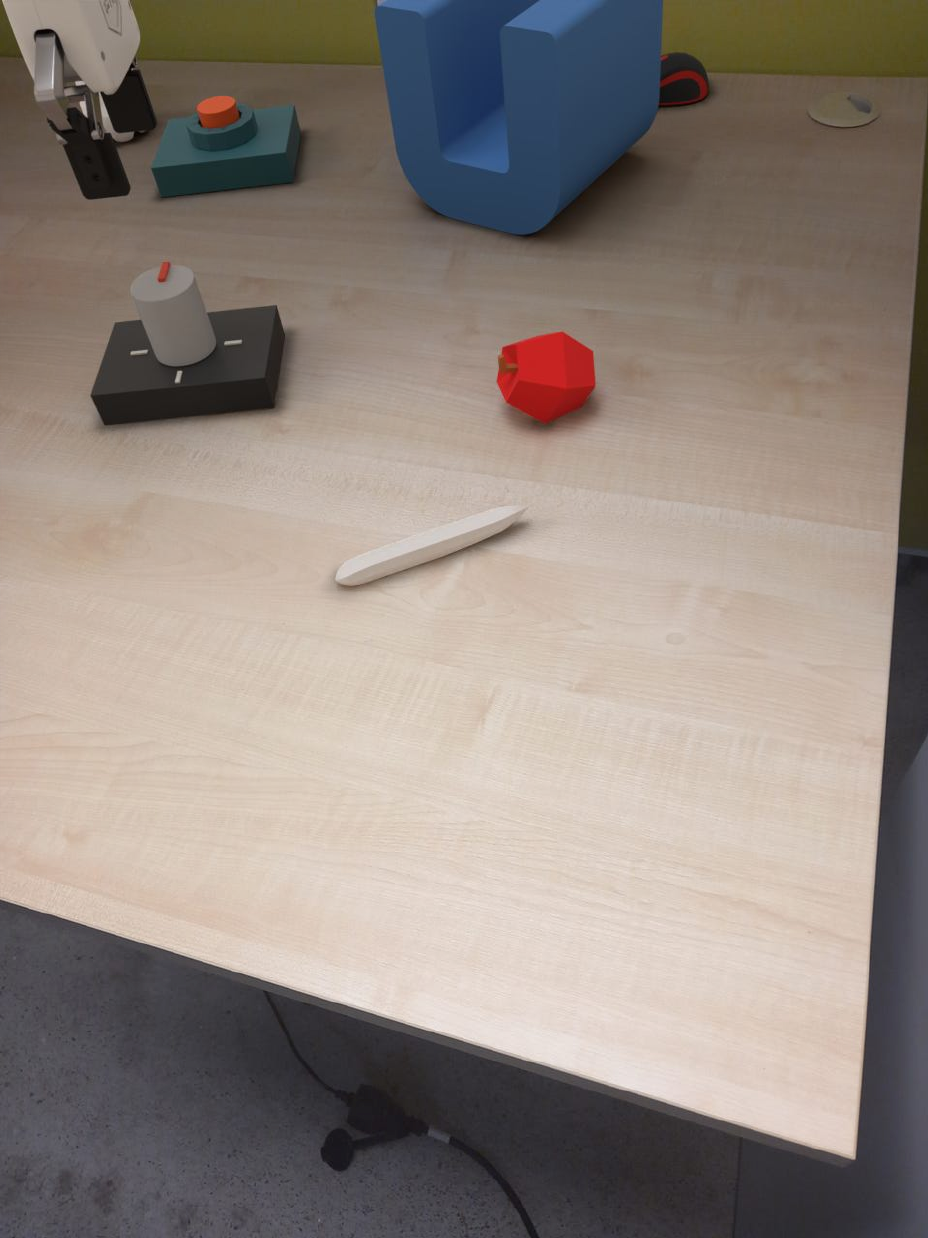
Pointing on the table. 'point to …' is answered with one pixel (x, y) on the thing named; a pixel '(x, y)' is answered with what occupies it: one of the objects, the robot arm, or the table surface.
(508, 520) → the pen
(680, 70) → the computer mouse
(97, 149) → the robot arm
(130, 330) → the dial panel
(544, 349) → the apple
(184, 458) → the table surface
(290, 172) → the teal button box
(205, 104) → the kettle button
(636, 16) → the block
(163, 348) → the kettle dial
